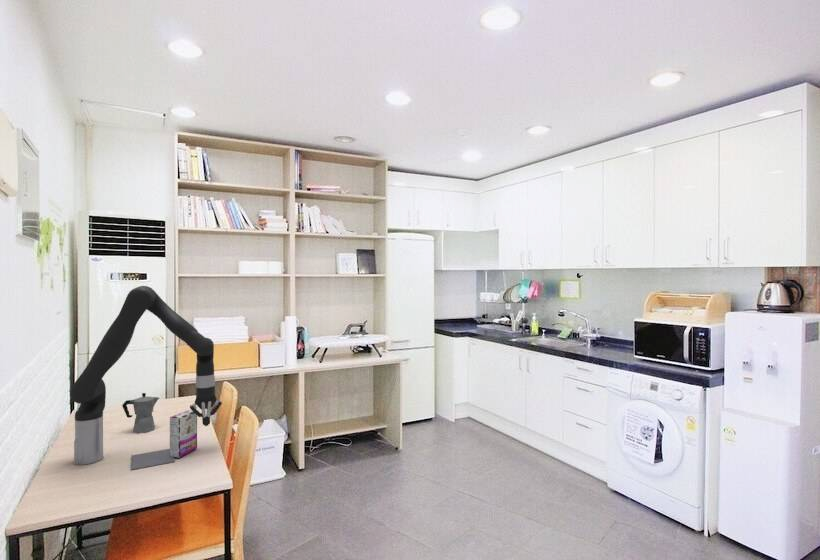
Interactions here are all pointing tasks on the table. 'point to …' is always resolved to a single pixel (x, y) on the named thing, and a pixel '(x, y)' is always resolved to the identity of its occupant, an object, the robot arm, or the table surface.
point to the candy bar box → (183, 433)
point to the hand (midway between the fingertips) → (206, 425)
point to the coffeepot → (142, 413)
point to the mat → (151, 459)
